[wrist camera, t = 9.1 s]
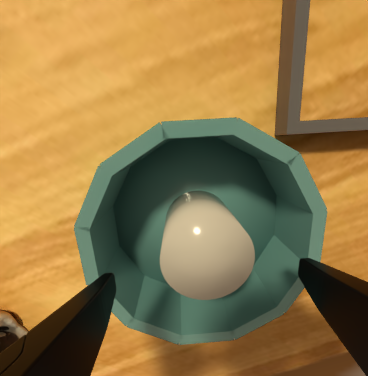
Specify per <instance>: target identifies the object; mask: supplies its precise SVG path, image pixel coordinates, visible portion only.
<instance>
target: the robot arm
mask: <svg viewBox="0 0 368 376" xmlns="http://www.w3.org/2000/svg"><path fill="white" fill-rule="evenodd" d="M298 276H299V279H300V280H301V282H302V284H303V285H304V287H305V289H306V290H307V292H308V293H309V295H310V297H311V298H312V300H313V302H314V303H315V305H316V307H317V308H318V310H319V311H320V313H321V314H322V315H323V317H324V318H325V320H326V321H327V322H328V324H329V325H330V327H331V328H332V329H333V331H334V332H335V333H336V335H337V336H338V338H339V339H340V340H341V342H342V343H343V344H344V346H345V347H346V349H347V350H348V351H349V353H350V354H351V355H352V357H353V358H354V360H355V361H356V362H357V364H358V365H359V366H360V368H361V369H362V371H363V372H364V373H365V375H366V376H368V282H366V281H364V280H362V279H359V278H357V277H354V276H352V275H349V274H347V273H345V272H342V271H340V270H337V269H335V268H333V267H330V266H328V265H325V264H323V263H321V262H318V261H316V260H313V259H311V258H301V259H300V260H299V267H298ZM115 295H116V282H115V276H114V273H104V274H103V275H101V276H100V277H99V278H97V279H96V280H95V281H94V282H92V283H91V284H90V285H88V286H87V287H86V288H84V289H83V290H82V291H81V292H79V293H78V294H77V295H75V296H74V297H73V298H72V299H70V300H69V301H68V302H66V303H65V304H64V305H62V306H61V307H60V308H59V309H57V310H56V311H55V312H53V313H52V314H51V315H49V316H48V317H47V318H46V319H44V320H43V321H42V322H40V323H39V324H38V325H37V326H35V327H34V328H33V329H31V330H30V331H29V332H28V333H27V335H26V334H25V335H23V336H22V337H21V338H20V339H18V340H17V341H16V342H14V343H13V344H12V345H10V346H9V347H8V348H6V349H5V350H4V351H2V352H1V353H0V376H90V375H91V372H92V370H93V367H94V364H95V361H96V358H97V355H98V353H99V350H100V347H101V344H102V341H103V339H104V336H105V333H106V330H107V327H108V323H109V319H110V315H111V311H112V307H113V303H114V299H115Z"/></svg>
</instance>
